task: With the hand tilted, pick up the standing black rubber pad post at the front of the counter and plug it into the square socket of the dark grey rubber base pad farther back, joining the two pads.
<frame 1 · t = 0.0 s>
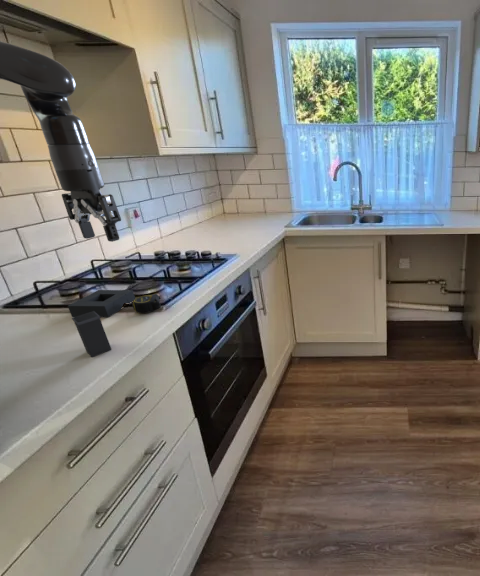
hand: (101, 239, 85), 24 cm above the countertop, tool pointing down, fingers open, 8 cm apart
base pad: (105, 308, 106), on the countertop
pad post: (99, 350, 85), on the countertop
tape measure: (151, 309, 105), on the countertop
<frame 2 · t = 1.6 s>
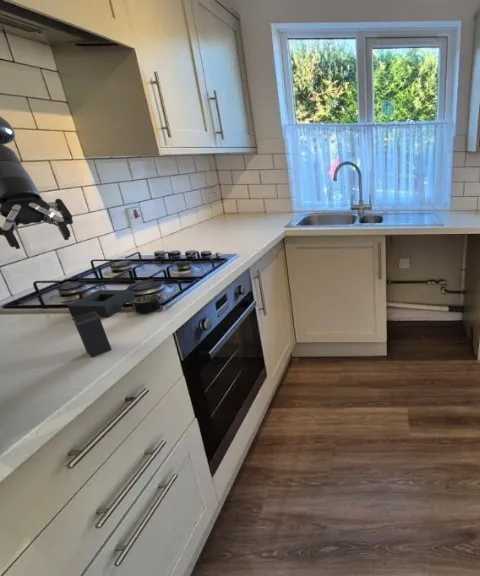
hand: (43, 242, 82), 25 cm above the countertop, tool tilted 45°, fingers open, 8 cm apart
nothing on the countertop moved.
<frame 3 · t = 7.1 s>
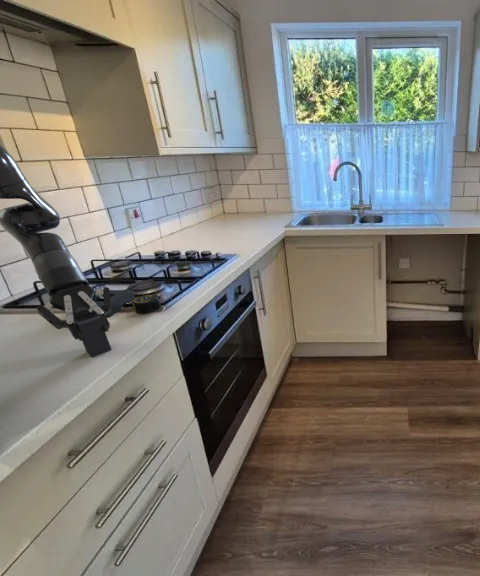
hand: (94, 334, 82), 5 cm above the countertop, tool tilted 45°, fingers closed on pad post, 4 cm apart
pad post: (99, 350, 85), on the countertop, touching gripper
everything else where it was.
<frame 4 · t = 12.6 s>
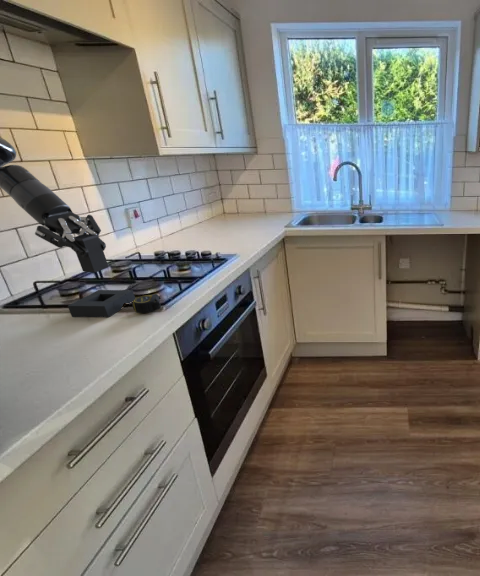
hand: (95, 251, 93), 19 cm above the countertop, tool tilted 45°, fingers closed on pad post, 4 cm apart
pad post: (96, 269, 96), point 14 cm above the countertop, touching gripper
everything else where it was.
when the fingers open (5 cm above the countertop, at t = 18.3 s): pad post stays where it is, resting in base pad.
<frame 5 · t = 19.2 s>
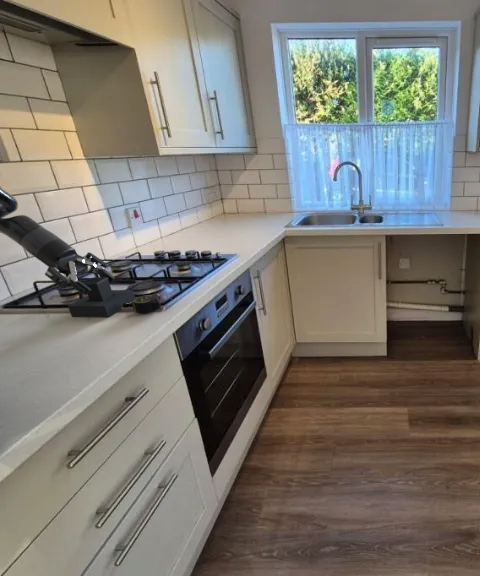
hand: (101, 286, 103), 7 cm above the countertop, tool tilted 45°, fingers open, 8 cm apart
pad post: (105, 308, 106), resting in base pad
everything else where it was.
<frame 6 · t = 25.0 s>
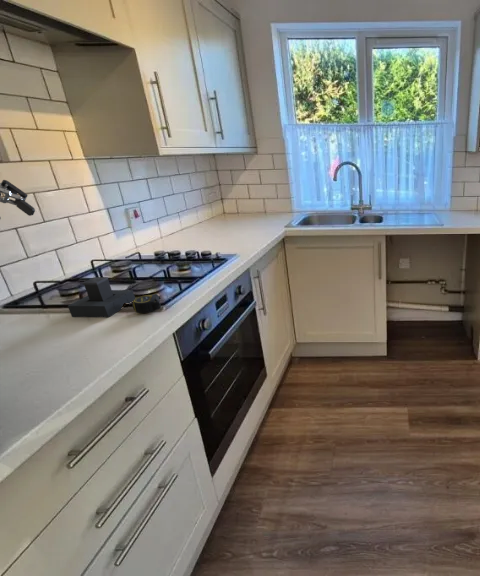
hand: (16, 216, 89), 29 cm above the countertop, tool tilted 45°, fingers open, 8 cm apart
nothing on the countertop moved.
at the end: pad post 0.1 cm off-centre in the base pad, point 0.0 cm above the base pad's base; pad post tilted 0°; the gripper is holding nothing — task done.
